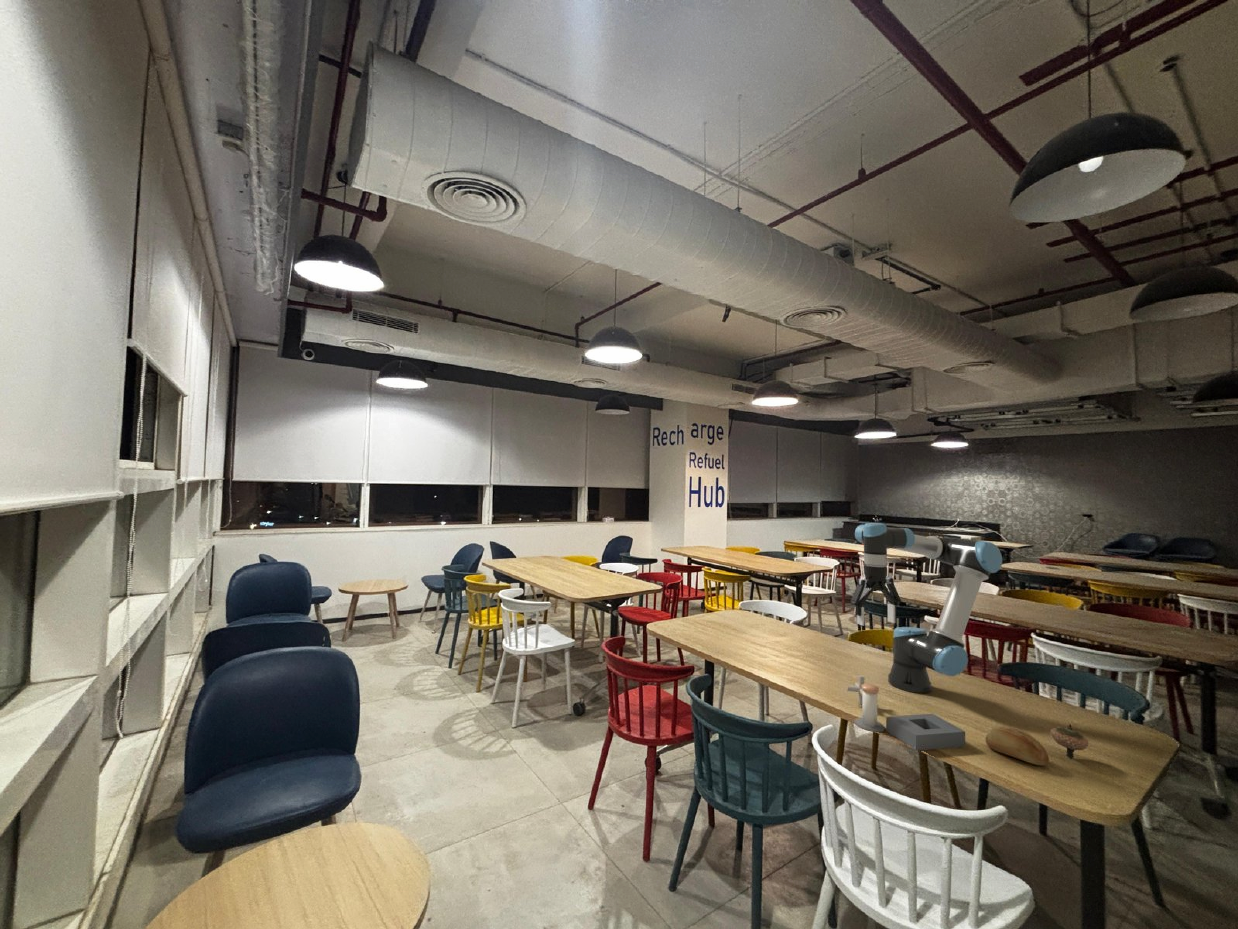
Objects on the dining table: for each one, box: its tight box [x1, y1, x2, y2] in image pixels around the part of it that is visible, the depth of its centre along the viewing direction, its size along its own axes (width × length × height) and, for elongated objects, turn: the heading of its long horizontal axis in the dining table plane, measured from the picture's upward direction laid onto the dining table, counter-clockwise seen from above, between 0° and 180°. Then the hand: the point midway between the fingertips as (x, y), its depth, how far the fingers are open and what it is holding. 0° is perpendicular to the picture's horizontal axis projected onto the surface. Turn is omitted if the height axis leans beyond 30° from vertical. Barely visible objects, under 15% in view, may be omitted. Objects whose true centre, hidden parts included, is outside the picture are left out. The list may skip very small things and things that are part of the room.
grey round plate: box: [853, 717, 886, 733], centre depth 161 cm, size 9×9×1 cm
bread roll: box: [985, 726, 1050, 766], centre depth 145 cm, size 10×15×8 cm, turn 39°
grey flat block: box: [885, 713, 966, 752], centre depth 154 cm, size 18×12×4 cm, turn 102°
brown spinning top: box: [1050, 723, 1089, 759], centre depth 146 cm, size 8×8×10 cm
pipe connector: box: [845, 675, 865, 706], centre depth 178 cm, size 10×10×10 cm
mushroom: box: [861, 683, 880, 727], centre depth 161 cm, size 5×5×12 cm
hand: (876, 623), depth 178 cm, fingers open, 13 cm apart
